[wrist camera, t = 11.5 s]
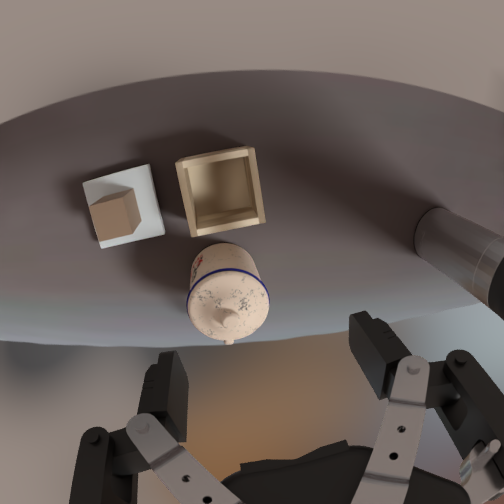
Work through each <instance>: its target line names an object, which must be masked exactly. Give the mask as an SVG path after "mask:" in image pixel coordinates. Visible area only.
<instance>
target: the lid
mask: <svg viewBox="0 0 504 504" xmlns="http://www.w3.org/2000/svg"><path fill="white" fill-rule="evenodd" d="M83 187H84V191H85V195H86V199H87V203H88V206H89V210H90V214H91V217H92V221H93V224H94V227H95V231H96V234H97V237H98V240H99V243H100V246H101V249H102V248H107V247H111V246H115V245H119V244H124V243H128V242H133V241H137V240H141V239H146V238H150V237H155V236H159V235H164V234H165V228H164V224H163V220H162V216H161V212H160V208H159V204H158V200H157V195H156V191H155V187H154V182H153V178H152V173H151V168H150V164H146V165H142V166H138V167H134V168H131V169H127V170H123V171H120V172H116V173H113V174H109V175H106V176H102V177H99V178H96V179H93V180H89V181H86V182H84V183H83Z"/></svg>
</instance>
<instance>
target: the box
mask: <svg viewBox="0 0 504 504" xmlns="http://www.w3.org/2000/svg"><path fill="white" fill-rule="evenodd" d="M175 165H176V170H177V175H178V179H179V184H180V189H181V193H182V198H183V203H184V207H185V211H186V216H187V220H188V225H189V229H190V233H191V237H196V236H201V235H206V234H210V233H215V232H220V231H225V230H230V229H235V228H240V227H245V226H250V225H255V224H260V223H266V221H265V214H264V208H263V201H262V194H261V188H260V181H259V175H258V168H257V162H256V156H255V149H254V148H253V147H249V146H242V147H236V148H230V149H225V150H219V151H214V152H209V153H204V154H199V155H194V156H189V157H185V158H180V159H179V160H178V161H177V162H176V163H175Z"/></svg>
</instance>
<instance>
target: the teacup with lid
mask: <svg viewBox="0 0 504 504" xmlns="http://www.w3.org/2000/svg"><path fill="white" fill-rule="evenodd" d="M269 304H270V301H269V294H268V291H267V289H266V287H265V285H264V284H263V283H262V281H261V279H260V277H259V274H258V271H257V269H256V266H255V264H254V261H253V259H252V257H251V256H250V255H249V253H248V252H247V251H245V250H244V249H243V248H241V247H239V246H237V245H234V244H229V243H219V244H214V245H211V246H209V247H207V248H205V249H204V250H202V251H201V252H200V253H199V254H198V255H197V257H196V258H195V260H194V262H193V264H192V268H191V278H190V292H189V294H188V297H187V312H188V316H189V318H190V320H191V322H192V323H193V325H194V326H195V327H196V328H197V329H198V330H199V331H200V332H202V333H203V334H205V335H206V336H208V337H211V338H214V339H218V340H224V343H225V344H227V345H229V344H233V342H234V340H236V339H240V338H243V337H246V336H248V335H250V334H251V333H253V332H254V331H255V330H257V329H258V328H259V327H260V326H261V324H262V323H263V322H264V320H265V318H266V316H267V314H268V310H269Z"/></svg>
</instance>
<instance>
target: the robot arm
mask: <svg viewBox="0 0 504 504" xmlns="http://www.w3.org/2000/svg"><path fill="white" fill-rule="evenodd" d="M414 245H415V249H416V252H417V254H418V255H419V256H420V257H421V258H423V259H424V260H425V261H427V262H428V263H430V264H431V265H433V266H434V267H435V268H437V269H438V270H439V271H441V272H442V273H444V274H445V275H446V276H448V277H449V278H450V279H452V280H453V281H454V282H456V283H457V284H459V285H460V286H461V287H463V288H464V289H465V290H467V291H468V292H469V293H470V294H472V295H473V296H474V297H476V298H477V299H478V300H480V301H481V302H482V303H483V304H485V305H486V306H487V307H488V308H490V309H491V310H492V311H494V312H495V313H496V314H498V316H500V317H501V318H502V319H503V320H504V237H502V236H500V235H498V234H496V233H494V232H492V231H490V230H488V229H486V228H484V227H482V226H480V225H478V224H476V223H474V222H472V221H470V220H467V219H465V218H463V217H461V216H459V215H457V214H454V213H452V212H450V211H448V210H445V209H443V208H433V209H431V210H429V211H428V212H427V213H426V214H425V215H424V216H423V217H422V219H421V220H420V222H419V224H418V226H417V229H416V232H415V238H414ZM349 346H350V349H351V352H352V353H353V355H354V357H355V359H356V360H357V362H358V364H359V365H360V367H361V369H362V371H363V372H364V374H365V376H366V378H367V379H368V381H369V383H370V385H371V386H372V388H373V389H374V392H375V393H376V395H377V397H378V399H379V400H381V399H384V398H388V400H389V402H388V405H387V409H386V412H385V416H384V419H383V422H382V425H381V428H380V432H379V435H378V437H377V441H376V443H375V446H374V448H370V447H366V446H354V445H353V446H348V443H347V441H346V440H343V441H340V442H336V443H333V444H330V445H327V446H323V447H320V448H318V449H316V450H314V451H312V452H310V453H308V454H306V455H304V456H302V457H300V458H298V459H294V460H270V459H269V460H268V459H266V460H261V461H255V462H248V463H241V464H240V467H241V470H240V471H238V472H235V473H233V474H231V475H230V476H228V477H226V478H225V479H224V480H223V481H221V482H219V481H218V480H217V479H216V478H215V477H214V476H213V475H212V474H210V473H209V472H208V471H207V470H206V469H205V468H204V467H203V466H202V465H201V464H200V463H199V462H198V461H197V460H196V459H195V458H194V457H193V456H192V455H191V454H190V453H189V452H188V451H187V450H186V449H185V448H184V447H183V446H180V445H179V444H178V442H186V436H187V410H188V388H189V383H188V378H187V374H186V372H185V369H184V367H183V364H182V362H181V360H180V357H179V355H178V353H177V351H168V352H161V353H160V354H159V358H158V364H153V365H151V366H150V368H149V369H148V370H147V372H146V373H145V378H144V383H143V387H142V388H143V390H142V392H141V397H140V402H139V407H138V412H137V415H136V416H134V417H133V418H131V419H130V420H129V422H128V423H127V426H126V427H125V428H123V429H120V430H117V431H113V432H110V433H108V432H107V431H106V430H105V429H104V428H102V427H93V428H90V429H88V430H87V431H86V432H85V433H84V434H83V436H82V438H81V442H80V446H79V451H78V455H77V460H76V466H75V471H74V476H73V481H72V487H71V494H70V500H69V504H137V489H138V473H139V472H143V471H146V470H149V469H152V470H153V471H154V473H155V474H156V475H157V476H158V478H159V479H160V480H161V481H162V482H163V484H164V485H165V486H166V487H167V488H168V490H169V491H170V492H171V493H172V494H173V495H174V497H175V498H176V499H177V500H178V501H179V502H180V503H181V504H483V503H484V502H486V501H487V500H495V499H497V498H498V497H500V496H501V495H502V494H504V395H503V393H502V392H501V391H500V389H499V388H498V387H497V386H496V384H495V383H494V382H493V381H492V379H491V378H490V377H489V375H488V374H487V373H486V372H485V370H484V369H483V368H482V367H481V365H480V364H479V363H478V362H477V361H476V359H475V358H474V357H473V356H472V355H471V354H470V353H469V352H467V351H465V350H454V351H452V352H450V353H449V354H448V355H447V357H446V360H445V361H438V362H427V361H426V360H425V359H424V358H422V357H420V356H415V355H414V356H413V355H412V354H411V353H410V351H409V350H408V349H407V348H406V346H405V345H404V344H403V343H402V341H401V340H400V339H399V338H398V337H397V336H396V334H395V333H394V331H392V329H391V328H390V327H389V325H388V324H387V323H386V322H384V321H382V320H381V319H379V318H376V319H372V318H371V316H370V315H369V314H368V312H367V311H362V312H358V313H355V314H351V315H350V317H349ZM428 408H434V409H435V410H436V412H437V414H438V416H439V417H440V419H441V421H442V422H443V424H444V426H445V428H446V430H447V431H448V433H449V435H450V437H451V438H452V440H453V442H454V444H455V446H456V447H457V449H458V451H459V453H460V455H461V457H462V459H463V462H462V463H461V465H460V470H459V473H460V477H461V485H460V484H458V483H456V482H453V481H451V480H448V479H445V478H442V477H440V476H437V475H434V474H432V473H429V472H427V471H424V470H422V469H419V468H417V467H414V466H413V465H414V461H415V457H416V454H417V449H418V445H419V441H420V436H421V432H422V427H423V422H424V416H425V411H426V409H428Z"/></svg>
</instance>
